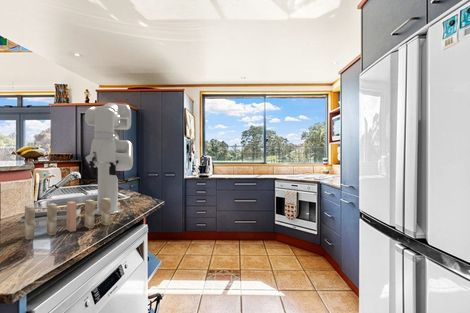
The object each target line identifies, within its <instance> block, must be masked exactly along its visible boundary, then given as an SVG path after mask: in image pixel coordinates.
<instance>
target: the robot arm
mask: <svg viewBox="0 0 470 313" xmlns="http://www.w3.org/2000/svg"><path fill="white" fill-rule="evenodd" d="M84 121H85V123H86V124H87V125H88V126H91V127H94V138H93V139H92V142H91V145H90V151H89V152H90V154H88V155H87V156H85V160H86V163H87V165H88V166H89V168H90V177H92V178H97V200H96V201H97V206H96V208H97V209H95V210H94V215H97V216H98V215H99V216H101V201H102V198H108V199H111V215H114V214H115V215H116V214H119V213H121V212H122V209H121V208H119V206H121V202H118V201H119V200H118V198H119V197H118V196H119V179H118V177H117V173H116V172H117V171H119V172H120V171H121V172H123V171H125V172H126V171H130V170H131V169H132V168H133V166H134V164H133V163H134V154H133V153H134V152H133V151H134V148H133V143H132V142H131V141H130V140H128V139H127V140H125V139H120V136H119V135H118V134H117V132H116V131H115V130H125V131H127V130H130V129H131V126H132V110H131V107H130V106H129V104H125V103H115V102H108V103H105V104H103V105H100V106H90V107H88V108H87V109H86V111H85V113H84Z"/></svg>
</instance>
